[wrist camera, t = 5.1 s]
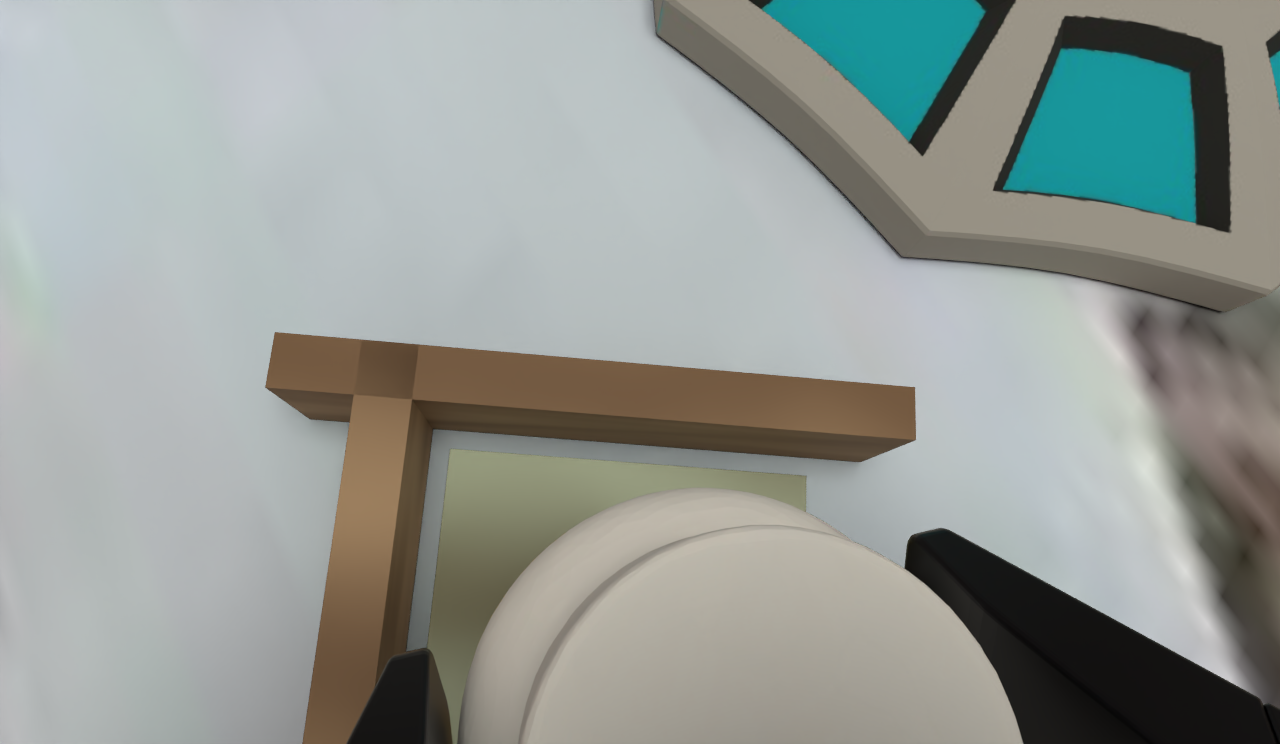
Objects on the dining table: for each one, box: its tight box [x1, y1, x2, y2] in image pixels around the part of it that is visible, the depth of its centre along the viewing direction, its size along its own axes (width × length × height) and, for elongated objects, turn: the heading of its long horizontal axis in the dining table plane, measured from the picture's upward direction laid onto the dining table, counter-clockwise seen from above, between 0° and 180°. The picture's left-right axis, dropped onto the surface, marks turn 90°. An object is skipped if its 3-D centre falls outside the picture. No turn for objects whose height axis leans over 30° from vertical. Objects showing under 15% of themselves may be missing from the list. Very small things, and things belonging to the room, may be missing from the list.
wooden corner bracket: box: [265, 332, 916, 744], centre depth 19 cm, size 13×14×4 cm
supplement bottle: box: [457, 488, 1023, 744], centre depth 11 cm, size 5×5×10 cm
